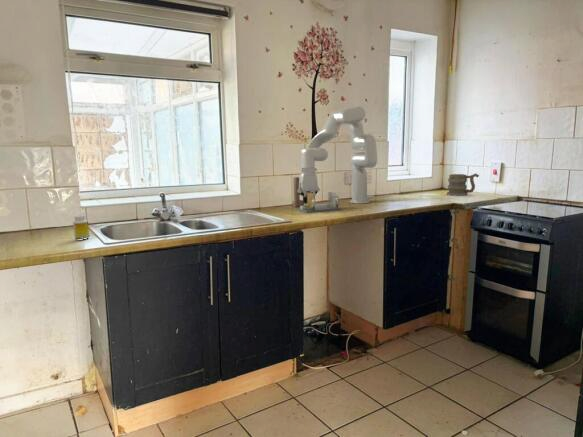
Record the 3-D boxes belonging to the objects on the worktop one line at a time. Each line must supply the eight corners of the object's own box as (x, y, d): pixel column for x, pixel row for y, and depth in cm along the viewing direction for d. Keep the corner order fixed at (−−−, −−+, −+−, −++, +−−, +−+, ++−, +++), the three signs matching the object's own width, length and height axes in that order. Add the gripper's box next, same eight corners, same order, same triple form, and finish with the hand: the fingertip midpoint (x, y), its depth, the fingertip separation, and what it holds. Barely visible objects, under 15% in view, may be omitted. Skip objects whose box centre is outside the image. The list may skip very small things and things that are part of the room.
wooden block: (311, 206, 269) (310, 176, 266) (295, 207, 265) (294, 177, 261) (308, 205, 272) (308, 176, 269) (292, 206, 268) (292, 177, 265)
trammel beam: (332, 205, 259) (331, 191, 257) (339, 207, 250) (339, 193, 249) (299, 208, 250) (299, 194, 249) (306, 210, 242) (305, 195, 241)
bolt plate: (330, 207, 262) (330, 204, 262) (341, 209, 250) (341, 207, 250) (297, 210, 253) (297, 207, 253) (306, 213, 242) (306, 210, 241)
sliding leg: (310, 207, 253) (310, 192, 252) (317, 209, 245) (317, 194, 243) (304, 207, 251) (303, 193, 250) (311, 209, 243) (310, 194, 242)
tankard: (445, 195, 303) (445, 173, 300) (450, 193, 313) (450, 172, 310) (475, 196, 291) (476, 174, 289) (479, 194, 302) (481, 172, 299)
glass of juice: (91, 239, 187) (89, 215, 186) (78, 241, 183) (75, 217, 182) (86, 237, 191) (83, 214, 189) (72, 239, 187) (70, 216, 185)
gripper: (318, 169, 253) (318, 201, 256) (291, 171, 247) (292, 203, 250) (324, 170, 247) (325, 202, 250) (297, 172, 240) (298, 205, 243)
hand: (308, 202), depth 250 cm, fingers closed on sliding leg, 4 cm apart
